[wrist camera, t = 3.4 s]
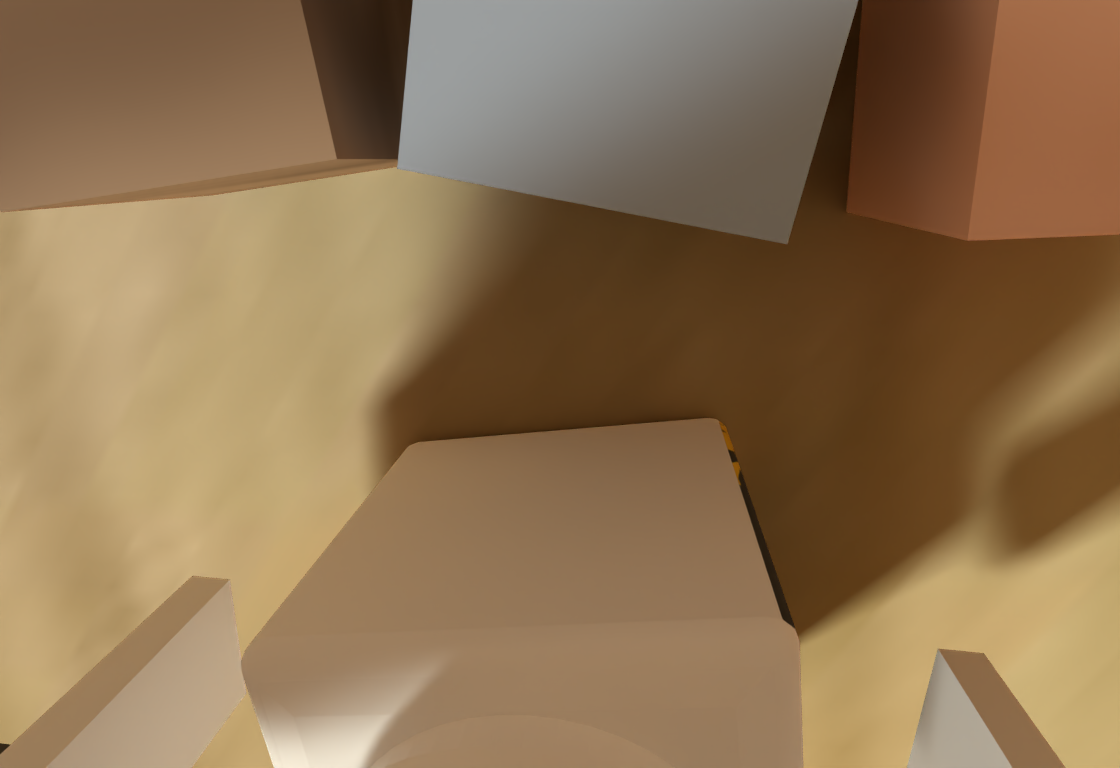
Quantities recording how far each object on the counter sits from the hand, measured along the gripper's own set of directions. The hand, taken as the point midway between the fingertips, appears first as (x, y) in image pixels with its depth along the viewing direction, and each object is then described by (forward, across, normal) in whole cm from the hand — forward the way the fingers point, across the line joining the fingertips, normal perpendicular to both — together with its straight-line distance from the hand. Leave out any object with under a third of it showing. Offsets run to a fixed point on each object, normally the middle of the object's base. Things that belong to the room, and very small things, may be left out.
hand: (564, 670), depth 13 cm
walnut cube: (+4, -6, +11) cm, 13 cm away
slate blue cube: (+4, 0, +11) cm, 12 cm away
